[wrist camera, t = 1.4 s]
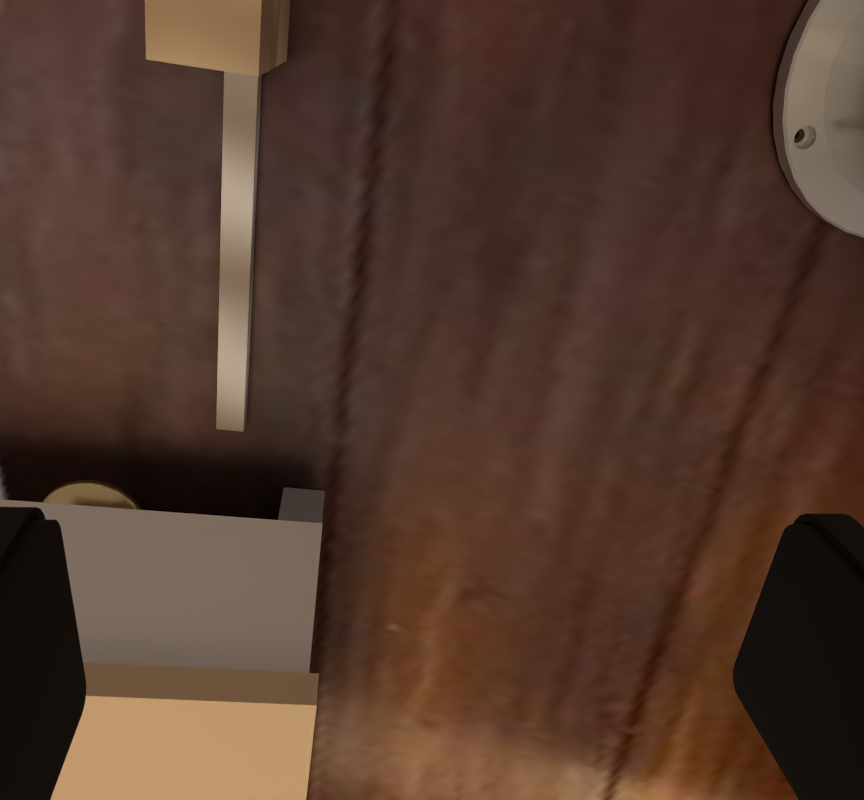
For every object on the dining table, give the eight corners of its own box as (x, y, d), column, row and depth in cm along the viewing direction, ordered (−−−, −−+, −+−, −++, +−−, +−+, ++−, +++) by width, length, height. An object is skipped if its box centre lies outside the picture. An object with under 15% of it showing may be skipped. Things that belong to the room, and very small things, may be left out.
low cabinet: (-87, 404, 33) (-404, 675, 19) (336, 442, 35) (316, 705, 22) (-37, 674, 40) (-241, 1007, 27) (310, 690, 43) (283, 1000, 29)
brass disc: (38, 471, 35) (31, 480, 35) (147, 480, 36) (143, 489, 35) (47, 554, 37) (40, 565, 37) (149, 561, 38) (145, 572, 37)
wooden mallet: (205, -47, 26) (143, -70, 19) (292, -32, 26) (263, -48, 19) (200, 416, 34) (155, 521, 27) (266, 422, 35) (239, 527, 27)
